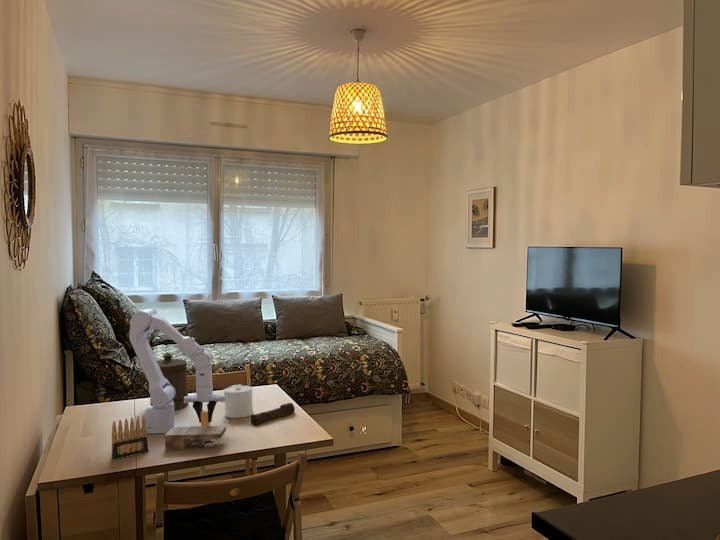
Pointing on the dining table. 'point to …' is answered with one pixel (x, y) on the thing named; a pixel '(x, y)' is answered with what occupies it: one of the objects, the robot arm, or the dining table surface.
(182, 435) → the walnut l-shaped block
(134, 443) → the ammunition clip
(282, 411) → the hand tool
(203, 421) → the light wooden mallet
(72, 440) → the dining table surface
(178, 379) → the wooden container
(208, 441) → the steel puck
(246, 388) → the toilet tissue
